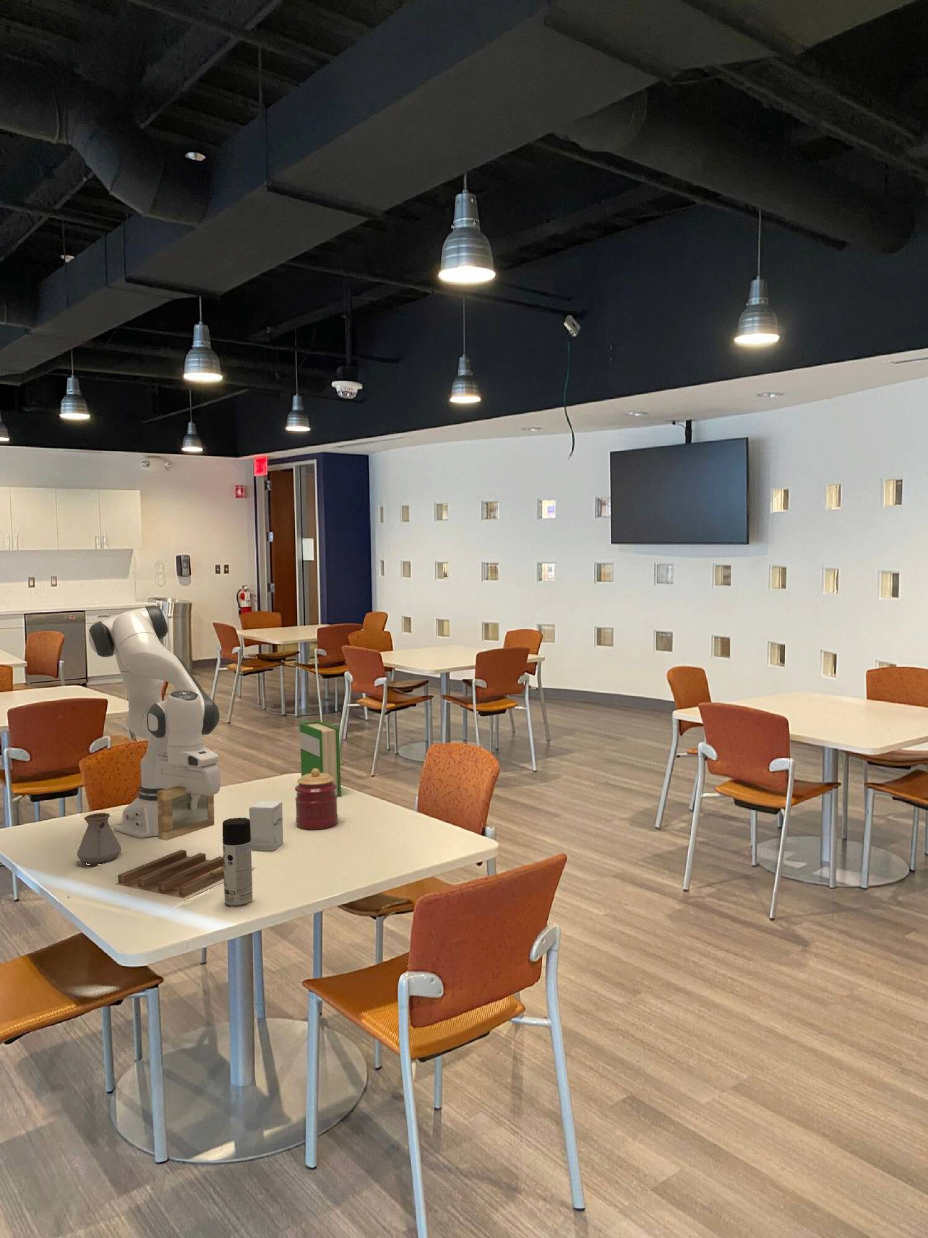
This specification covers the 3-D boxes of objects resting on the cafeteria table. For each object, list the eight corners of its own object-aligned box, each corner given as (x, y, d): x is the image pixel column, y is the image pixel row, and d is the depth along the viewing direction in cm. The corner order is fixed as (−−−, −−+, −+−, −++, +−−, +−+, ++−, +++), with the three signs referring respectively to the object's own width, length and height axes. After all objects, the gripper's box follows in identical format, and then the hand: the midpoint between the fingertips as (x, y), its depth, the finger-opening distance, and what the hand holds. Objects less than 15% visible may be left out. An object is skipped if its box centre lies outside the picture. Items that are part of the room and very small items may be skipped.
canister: (330, 831, 277) (329, 774, 276) (290, 830, 279) (288, 773, 278) (343, 818, 290) (341, 764, 289) (304, 817, 292) (302, 763, 291)
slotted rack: (115, 887, 233) (114, 874, 233) (184, 859, 254) (183, 846, 254) (182, 902, 222) (182, 887, 222) (248, 870, 244) (247, 857, 243)
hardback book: (341, 796, 317) (339, 728, 315) (321, 800, 313) (319, 730, 311) (321, 786, 332) (318, 721, 330) (301, 789, 328) (299, 723, 326)
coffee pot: (75, 859, 256) (73, 806, 255) (119, 852, 262) (116, 800, 261) (82, 882, 237) (79, 826, 236) (128, 874, 243) (126, 819, 242)
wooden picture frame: (158, 839, 227) (157, 791, 227) (206, 823, 241) (205, 778, 241) (166, 840, 226) (165, 792, 225) (214, 825, 240) (213, 779, 239)
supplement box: (274, 851, 259) (272, 808, 258) (249, 850, 261) (248, 807, 260) (284, 843, 266) (282, 801, 266) (260, 842, 268) (259, 800, 267)
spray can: (227, 897, 225) (224, 817, 224) (255, 895, 226) (252, 816, 224) (222, 907, 218) (219, 825, 217) (251, 906, 219) (248, 824, 218)
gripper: (147, 753, 235) (149, 806, 236) (205, 761, 225) (206, 816, 226) (166, 749, 241) (168, 801, 241) (223, 756, 230) (225, 810, 231)
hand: (187, 808), depth 233 cm, fingers closed on wooden picture frame, 3 cm apart
